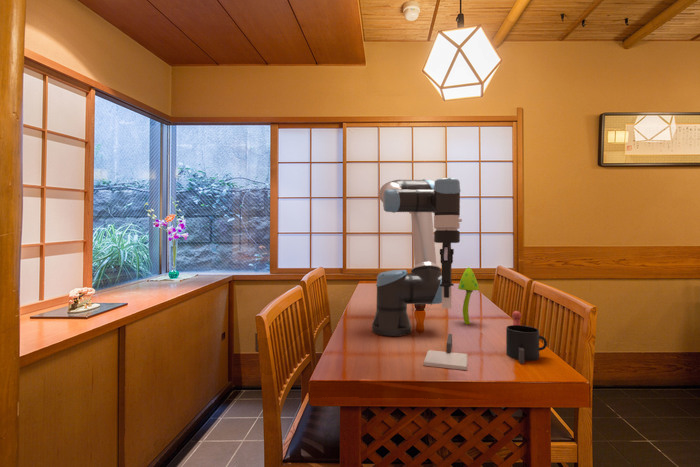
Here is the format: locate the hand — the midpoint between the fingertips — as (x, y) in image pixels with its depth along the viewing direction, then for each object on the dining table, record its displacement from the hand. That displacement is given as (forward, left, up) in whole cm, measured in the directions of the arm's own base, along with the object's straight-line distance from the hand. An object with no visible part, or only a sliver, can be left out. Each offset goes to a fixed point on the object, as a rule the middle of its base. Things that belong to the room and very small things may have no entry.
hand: (446, 307), depth 113 cm
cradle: (+11, +11, -16) cm, 22 cm away
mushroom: (+6, +46, -16) cm, 49 cm away
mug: (+24, +13, -17) cm, 32 cm away
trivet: (0, 0, -16) cm, 16 cm away
